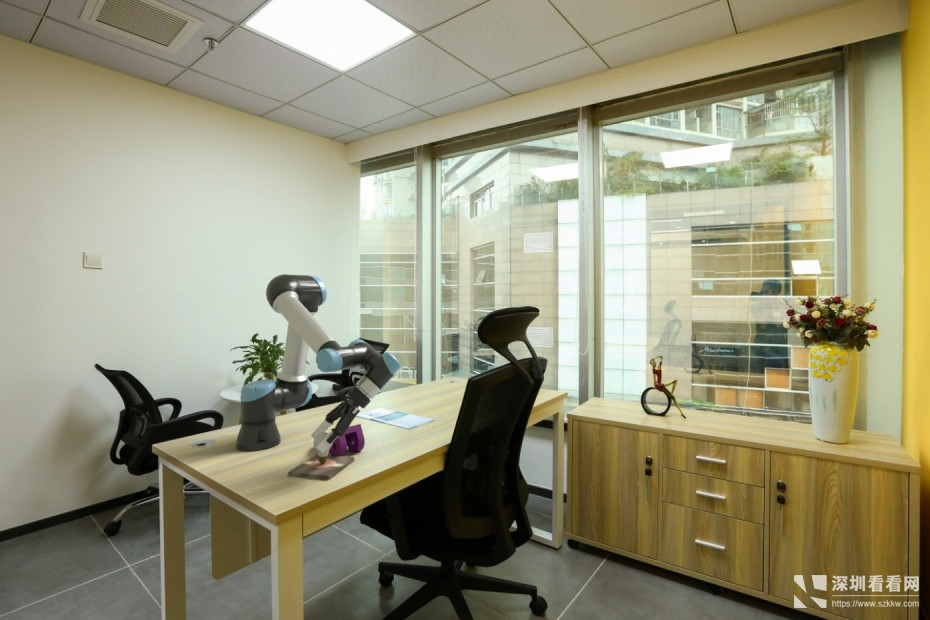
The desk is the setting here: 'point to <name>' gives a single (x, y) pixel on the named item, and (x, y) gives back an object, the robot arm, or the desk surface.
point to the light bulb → (321, 455)
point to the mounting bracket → (348, 441)
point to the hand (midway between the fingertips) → (316, 443)
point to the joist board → (321, 467)
